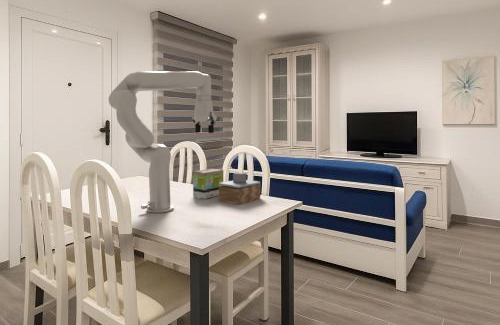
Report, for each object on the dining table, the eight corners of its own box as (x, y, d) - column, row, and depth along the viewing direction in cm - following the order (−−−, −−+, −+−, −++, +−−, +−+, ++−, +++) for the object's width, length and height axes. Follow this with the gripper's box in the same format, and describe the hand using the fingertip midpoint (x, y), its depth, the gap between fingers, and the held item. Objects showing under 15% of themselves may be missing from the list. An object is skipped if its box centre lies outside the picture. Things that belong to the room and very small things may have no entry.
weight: (240, 183, 183) (240, 174, 183) (233, 182, 186) (233, 173, 186) (246, 182, 187) (246, 173, 187) (239, 181, 190) (239, 172, 190)
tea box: (205, 199, 189) (205, 172, 187) (192, 197, 195) (192, 170, 193) (224, 194, 201) (223, 169, 199) (211, 192, 207) (210, 167, 205)
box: (238, 204, 177) (238, 189, 176) (218, 200, 186) (218, 186, 185) (260, 198, 191) (260, 184, 190) (240, 194, 199) (240, 181, 198)
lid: (238, 188, 176) (238, 186, 176) (218, 184, 184) (218, 183, 184) (260, 183, 190) (260, 181, 189) (240, 180, 198) (240, 179, 198)
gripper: (187, 99, 181) (187, 132, 183) (210, 98, 170) (211, 133, 172) (197, 100, 186) (198, 132, 189) (221, 98, 176) (221, 132, 178)
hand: (204, 132), depth 180 cm, fingers open, 9 cm apart
